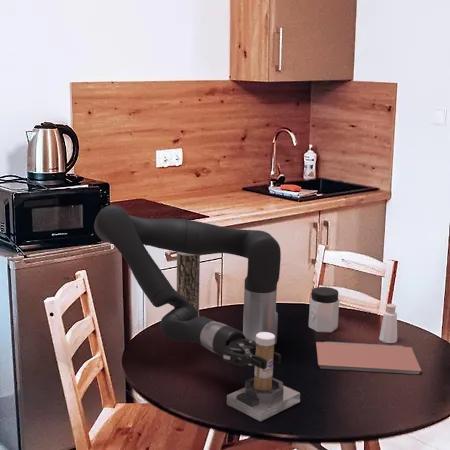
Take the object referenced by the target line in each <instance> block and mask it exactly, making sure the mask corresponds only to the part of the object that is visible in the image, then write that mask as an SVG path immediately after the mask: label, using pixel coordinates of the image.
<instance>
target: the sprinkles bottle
mask: <svg viewBox="0 0 450 450" xmlns="http://www.w3.org/2000/svg"><path fill="white" fill-rule="evenodd" d="M274 344H275V335H274V334H272V333H269V332H260V333H258V334H256V354H255V355H256V356H258V357H260V358H263V359H265V360H266V361H267V368H266V369H261V368H259V367H256V366H254V370H253V371H254V372H253V374H254V388H255V389H257V390H259V391H268V390H270V389H271V388H272V377H273V375H274V362H273V355H274V352H275V345H276V344H275V345H274Z"/></svg>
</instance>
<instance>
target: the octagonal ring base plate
mask: <svg viewBox="0 0 450 450" xmlns="http://www.w3.org/2000/svg"><path fill="white" fill-rule="evenodd" d="M254 377H255V376H254ZM254 377H251V378H249V379H247V380H245V381H244V382H245V383H244V387H242V388H240V389H238V390H235V391H234V392H231V393H228V394H226V405H227V406H229V407H231V408H233V409H235V410H237V411H238V412H240V413H243V414H245V415H247V416H249V417H251V418H253V419H255V420H257V421H258V422H263V421H265V420H267V419H269V418H271V417H273V416H274V415H277V414H279V413H280V412H283V411H285V410H287V409H289V408H291V407H293V406H295V405H297V404H298V403H301V393H300V392H299V391H297V390H295V389H293V388H291V387H287V386H285V385H284V383H283V381H282V380H279V379H277V378H274V377H273V376H272V388H271V389H270V390H268V391H259V390H257V389H255V388H254Z"/></svg>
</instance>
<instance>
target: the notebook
mask: <svg viewBox="0 0 450 450" xmlns="http://www.w3.org/2000/svg"><path fill="white" fill-rule="evenodd" d="M315 346H316V355H317V365H318V367H319V369H321V370H323V369H325V370H339V371H340V370H341V371H343V370H344V371H356V372H373V373H375V372H377V373H389V374H390V373H393V374H394V373H395V374H409V375H410V374H411V375H420V372H422V369H421V365H419V361H418V359H417V357H416V355H415V352H414V350H413V348H412V347H411V346H404V345H398V344H396V345H395V344H394V345H393V344H378V343H377V344H375V343H374V344H373V343H369V344H368V343H358V342H356V343H355V342H354V343H353V342H342V341H341V342H340V341H339V342H338V341H324V342H323V341H322V342H321V341H316V342H315Z"/></svg>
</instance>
